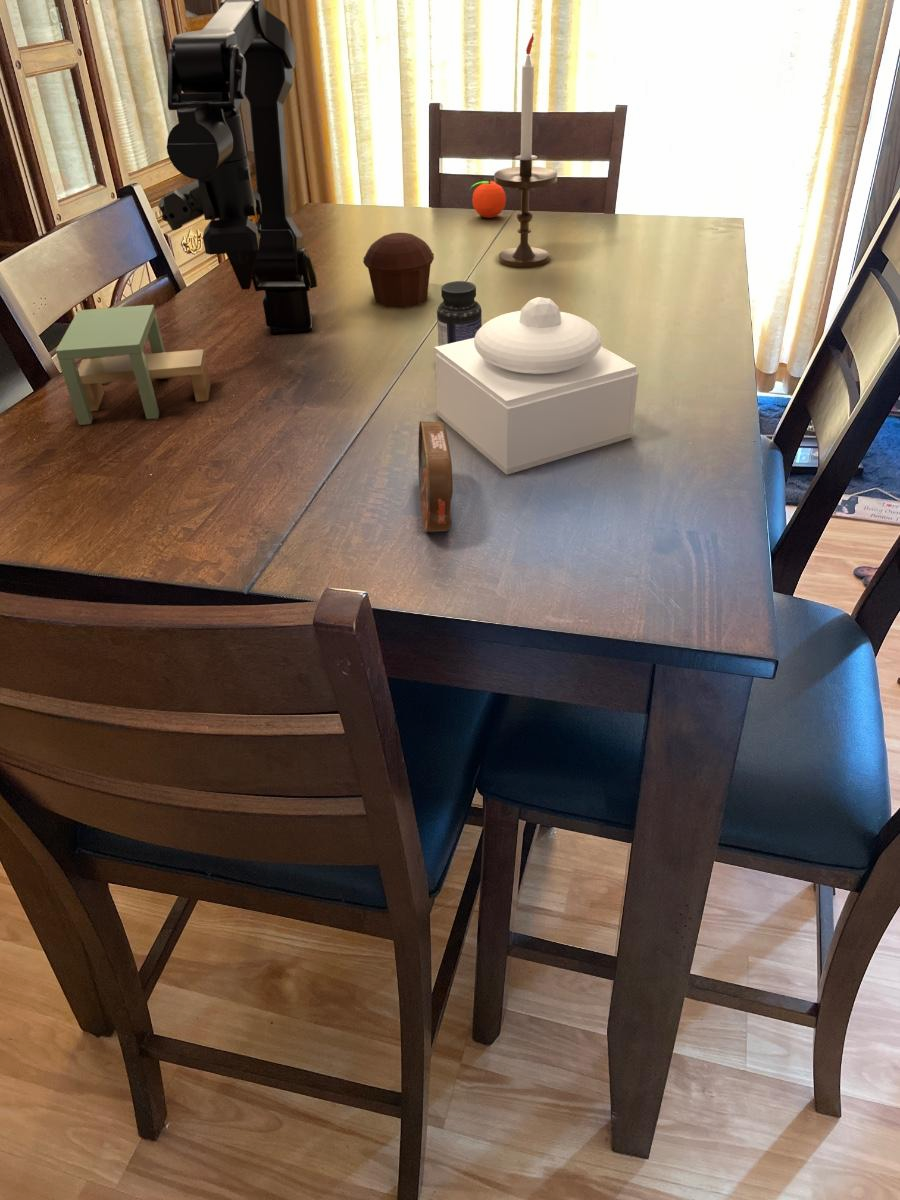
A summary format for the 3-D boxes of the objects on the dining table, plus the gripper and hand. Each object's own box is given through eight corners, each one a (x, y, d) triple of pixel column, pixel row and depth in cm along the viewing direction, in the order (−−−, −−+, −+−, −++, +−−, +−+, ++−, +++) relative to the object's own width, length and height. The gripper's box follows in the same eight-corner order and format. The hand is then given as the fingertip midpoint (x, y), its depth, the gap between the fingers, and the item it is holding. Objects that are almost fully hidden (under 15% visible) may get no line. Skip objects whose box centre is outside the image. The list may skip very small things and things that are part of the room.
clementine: (465, 221, 181) (464, 184, 176) (470, 212, 186) (469, 176, 182) (503, 222, 180) (504, 184, 175) (507, 212, 185) (508, 176, 181)
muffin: (394, 316, 140) (390, 251, 134) (352, 299, 147) (346, 237, 140) (449, 297, 146) (448, 234, 140) (407, 282, 153) (403, 221, 147)
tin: (417, 474, 101) (413, 407, 96) (445, 472, 101) (442, 405, 96) (426, 549, 89) (421, 476, 84) (457, 546, 89) (454, 474, 84)
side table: (170, 374, 125) (153, 304, 119) (158, 418, 114) (139, 344, 108) (98, 380, 124) (77, 310, 118) (79, 425, 113) (55, 350, 107)
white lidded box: (506, 475, 100) (508, 340, 90) (435, 413, 113) (430, 289, 103) (632, 437, 106) (646, 307, 96) (551, 383, 119) (556, 263, 109)
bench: (211, 383, 122) (203, 348, 119) (208, 400, 118) (200, 365, 115) (92, 393, 121) (82, 359, 117) (85, 412, 116) (74, 376, 113)
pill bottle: (487, 358, 126) (487, 281, 119) (474, 375, 122) (473, 296, 115) (447, 354, 128) (444, 277, 121) (432, 370, 123) (429, 292, 116)
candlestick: (563, 255, 162) (575, 29, 140) (536, 272, 155) (543, 37, 133) (512, 247, 166) (515, 28, 145) (483, 263, 159) (481, 35, 138)
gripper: (162, 145, 112) (189, 270, 121) (144, 182, 97) (176, 320, 107) (251, 139, 113) (270, 263, 122) (246, 175, 98) (268, 312, 108)
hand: (246, 288), depth 115 cm, fingers closed
